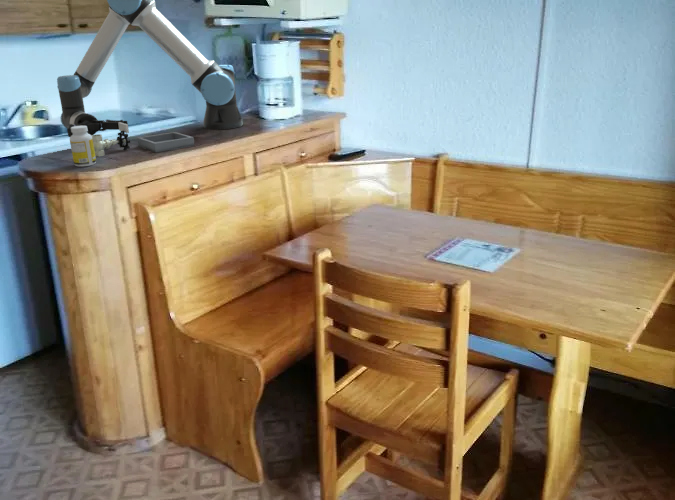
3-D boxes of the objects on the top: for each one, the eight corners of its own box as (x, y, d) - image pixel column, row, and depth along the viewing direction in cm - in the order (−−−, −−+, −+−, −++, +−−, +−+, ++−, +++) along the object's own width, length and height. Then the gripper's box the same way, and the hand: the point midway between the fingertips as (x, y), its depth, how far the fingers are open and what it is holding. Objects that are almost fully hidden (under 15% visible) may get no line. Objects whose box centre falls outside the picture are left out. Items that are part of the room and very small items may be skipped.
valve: (98, 158, 210) (131, 151, 219) (95, 137, 208) (128, 131, 216) (88, 155, 215) (121, 148, 223) (85, 135, 212) (118, 129, 221)
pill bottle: (94, 161, 206) (87, 124, 202) (98, 165, 201) (92, 127, 197) (72, 164, 203) (65, 126, 199) (76, 168, 198) (69, 129, 194)
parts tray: (175, 140, 233) (174, 131, 232) (194, 145, 223) (193, 137, 222) (138, 146, 225) (137, 137, 224) (156, 152, 215) (154, 143, 214)
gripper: (120, 129, 237) (145, 137, 222) (49, 140, 223) (70, 149, 207) (117, 108, 235) (142, 115, 219) (45, 117, 220) (66, 125, 205)
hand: (107, 131), depth 213 cm, fingers open, 13 cm apart
